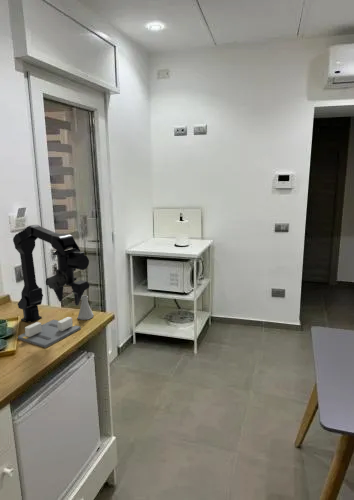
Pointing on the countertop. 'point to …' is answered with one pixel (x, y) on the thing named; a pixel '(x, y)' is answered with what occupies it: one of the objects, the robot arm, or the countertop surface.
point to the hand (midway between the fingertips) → (68, 303)
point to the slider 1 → (33, 329)
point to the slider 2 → (65, 323)
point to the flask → (85, 309)
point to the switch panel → (49, 334)
